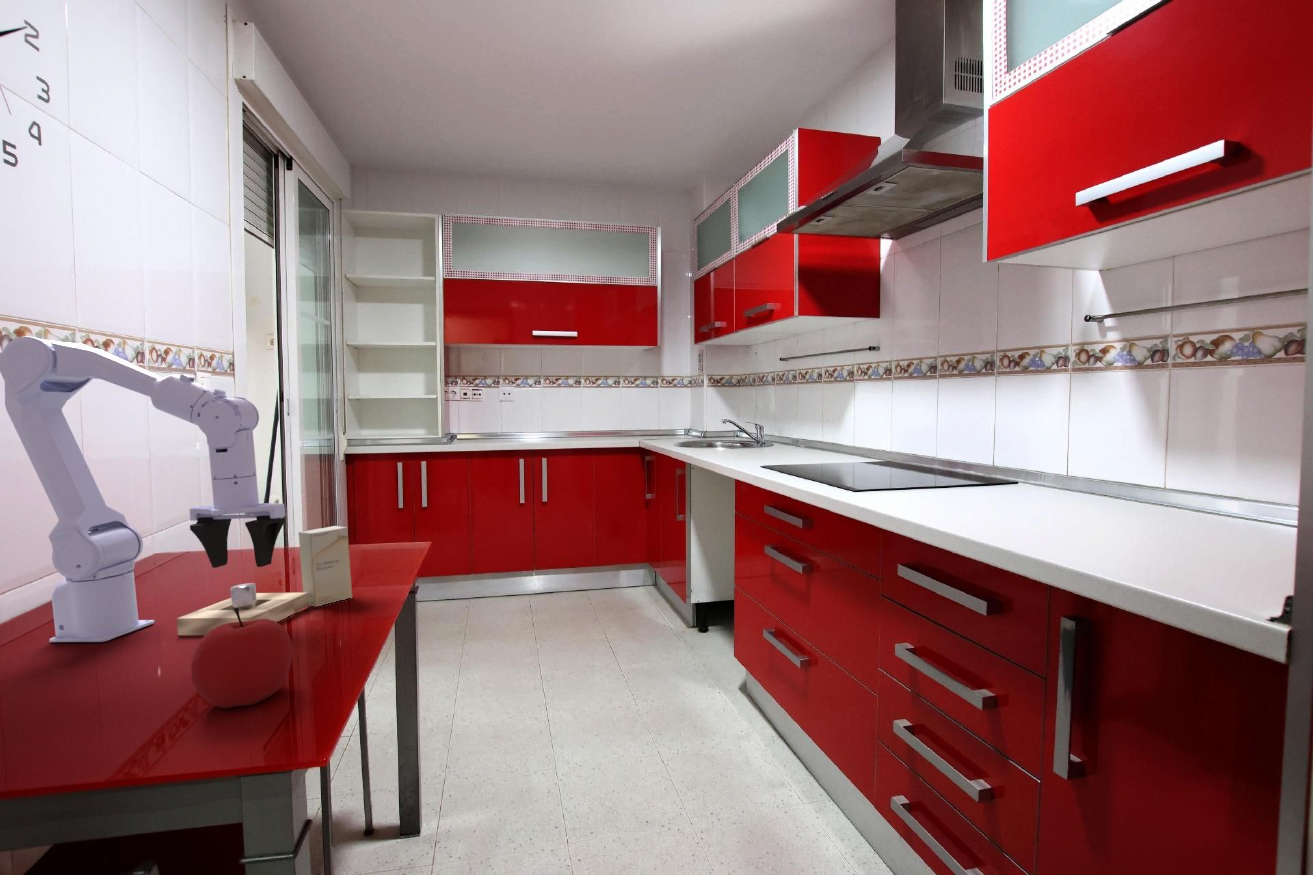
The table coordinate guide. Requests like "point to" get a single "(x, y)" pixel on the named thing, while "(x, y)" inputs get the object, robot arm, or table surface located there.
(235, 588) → the grey block
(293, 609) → the wooden square frame
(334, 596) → the skincare box
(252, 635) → the apple
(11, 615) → the table surface
